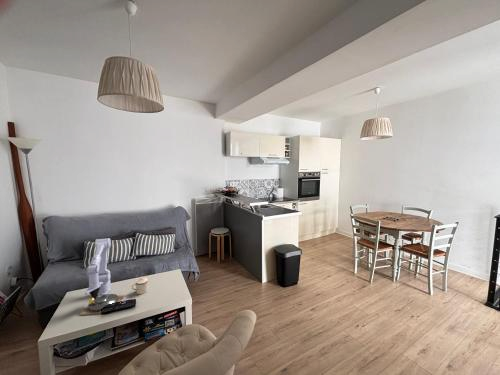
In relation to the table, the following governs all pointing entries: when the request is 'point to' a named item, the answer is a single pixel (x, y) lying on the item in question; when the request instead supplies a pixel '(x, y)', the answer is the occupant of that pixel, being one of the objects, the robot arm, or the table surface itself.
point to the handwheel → (101, 301)
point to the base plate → (89, 312)
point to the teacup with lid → (141, 286)
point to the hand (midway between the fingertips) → (94, 298)
